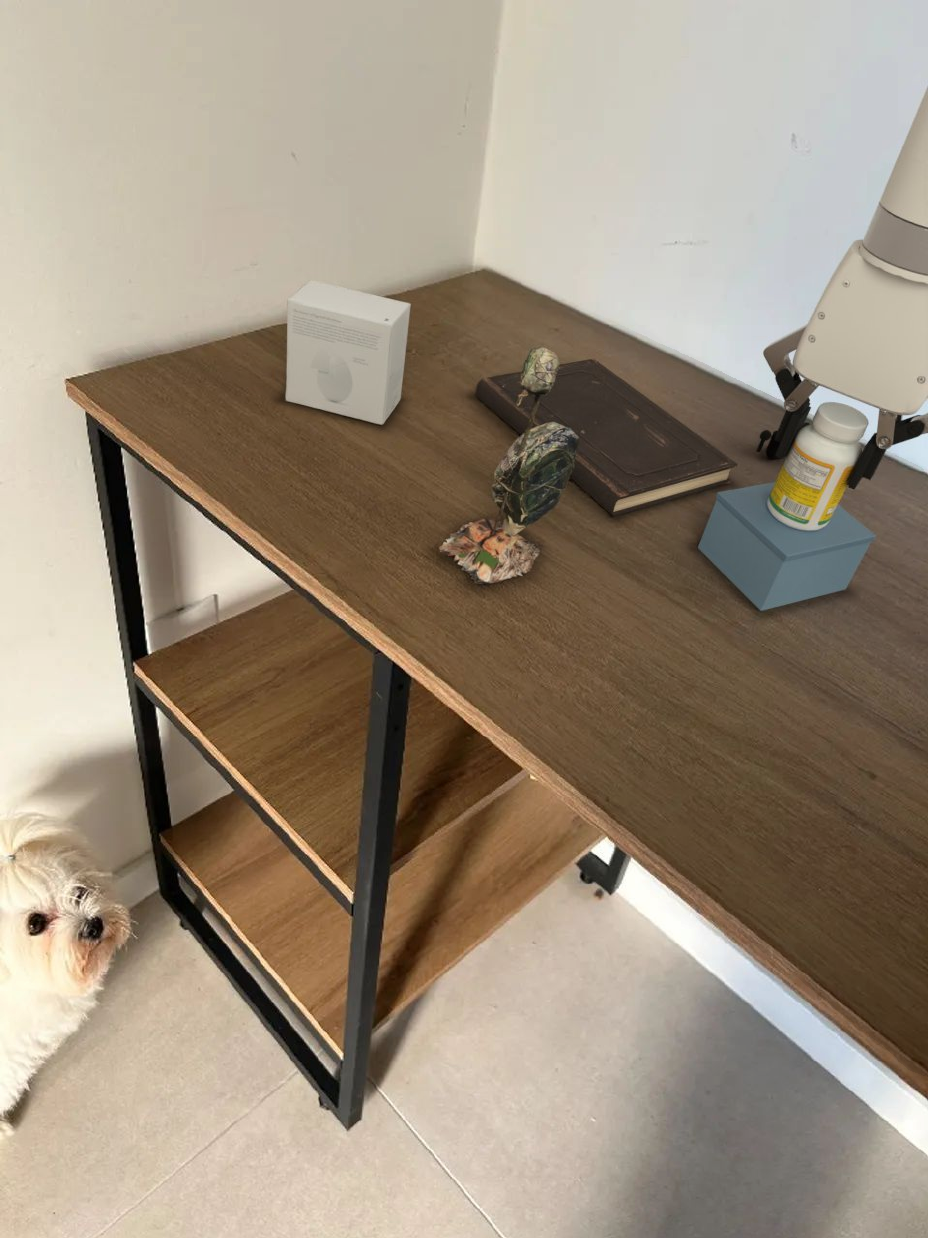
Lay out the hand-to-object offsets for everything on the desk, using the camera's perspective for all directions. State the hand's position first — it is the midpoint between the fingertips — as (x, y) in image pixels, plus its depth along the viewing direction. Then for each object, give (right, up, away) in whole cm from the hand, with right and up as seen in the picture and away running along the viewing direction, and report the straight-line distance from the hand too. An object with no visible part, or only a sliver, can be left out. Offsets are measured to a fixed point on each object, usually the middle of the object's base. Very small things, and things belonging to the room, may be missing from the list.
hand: (819, 464), depth 76 cm
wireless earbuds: (+4, +4, +23) cm, 23 cm away
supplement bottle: (-1, -4, +3) cm, 5 cm away
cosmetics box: (-41, +10, +19) cm, 46 cm away
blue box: (-2, -8, +7) cm, 11 cm away
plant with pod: (-26, -7, +4) cm, 27 cm away
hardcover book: (-15, +6, +20) cm, 26 cm away
